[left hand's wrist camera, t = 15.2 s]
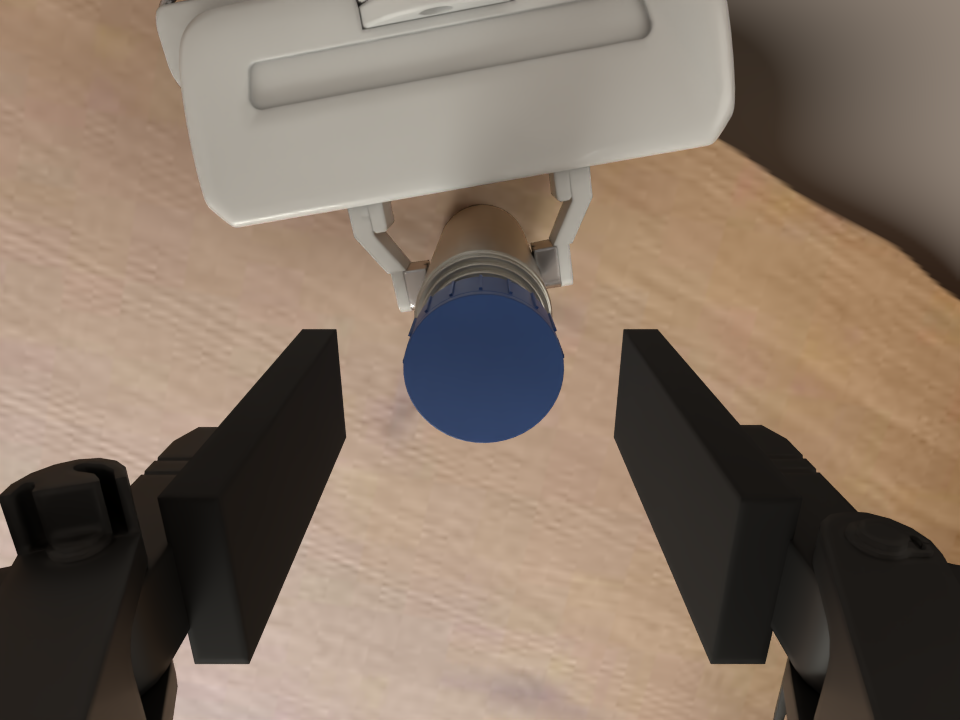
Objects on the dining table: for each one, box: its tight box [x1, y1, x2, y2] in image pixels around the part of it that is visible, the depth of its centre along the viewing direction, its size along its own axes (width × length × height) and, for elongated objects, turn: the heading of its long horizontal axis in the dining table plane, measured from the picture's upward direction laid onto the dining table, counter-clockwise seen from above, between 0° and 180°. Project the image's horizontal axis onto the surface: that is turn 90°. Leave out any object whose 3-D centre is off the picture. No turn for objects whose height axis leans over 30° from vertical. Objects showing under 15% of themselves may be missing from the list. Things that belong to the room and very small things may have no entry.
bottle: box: [414, 205, 552, 318], centre depth 24 cm, size 4×4×17 cm
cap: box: [403, 275, 564, 443], centre depth 16 cm, size 4×4×2 cm
